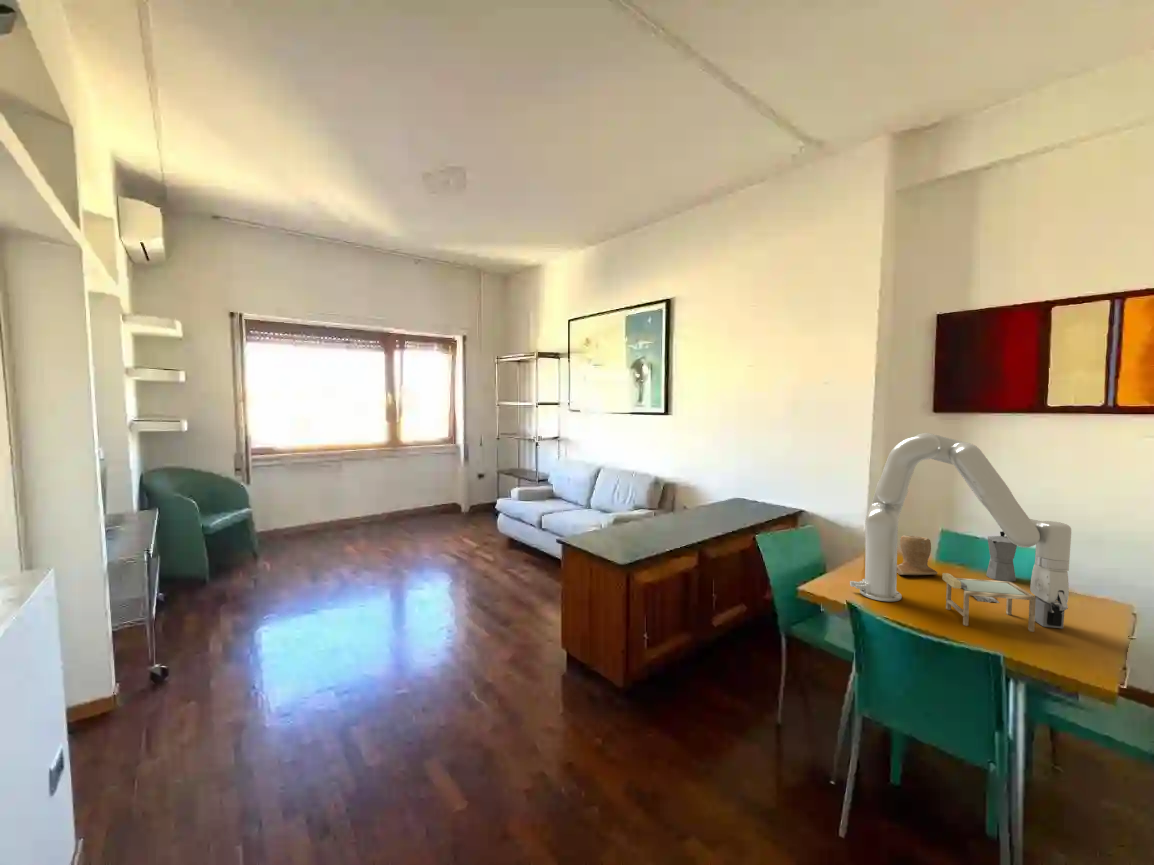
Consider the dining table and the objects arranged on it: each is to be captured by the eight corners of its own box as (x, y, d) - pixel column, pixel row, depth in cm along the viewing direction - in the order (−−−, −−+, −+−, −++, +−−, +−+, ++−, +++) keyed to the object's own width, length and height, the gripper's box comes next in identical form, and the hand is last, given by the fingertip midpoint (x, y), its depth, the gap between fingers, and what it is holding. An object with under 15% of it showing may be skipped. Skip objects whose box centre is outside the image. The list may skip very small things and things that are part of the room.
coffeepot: (1007, 584, 185) (1009, 536, 184) (977, 577, 193) (979, 531, 192) (1026, 577, 192) (1028, 531, 191) (997, 570, 200) (998, 525, 199)
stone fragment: (979, 605, 169) (1010, 605, 168) (979, 597, 169) (1010, 597, 168) (932, 578, 194) (959, 578, 194) (932, 571, 194) (959, 571, 193)
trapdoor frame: (964, 625, 153) (965, 591, 152) (945, 608, 165) (946, 577, 164) (1034, 631, 148) (1035, 597, 147) (1009, 613, 160) (1011, 581, 160)
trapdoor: (954, 592, 154) (955, 582, 154) (940, 581, 164) (941, 572, 163) (1025, 598, 149) (1025, 587, 149) (1006, 586, 159) (1007, 576, 158)
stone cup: (921, 568, 204) (922, 531, 203) (942, 578, 193) (943, 540, 192) (884, 568, 205) (885, 532, 204) (902, 578, 193) (903, 540, 192)
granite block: (1042, 626, 151) (1044, 603, 150) (1032, 619, 155) (1034, 597, 155) (1063, 628, 149) (1064, 605, 149) (1052, 621, 154) (1054, 599, 153)
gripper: (1020, 553, 160) (1017, 608, 161) (1054, 571, 144) (1050, 632, 145) (1049, 555, 158) (1045, 611, 159) (1087, 573, 142) (1082, 635, 143)
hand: (1048, 620), depth 152 cm, fingers closed on granite block, 5 cm apart
